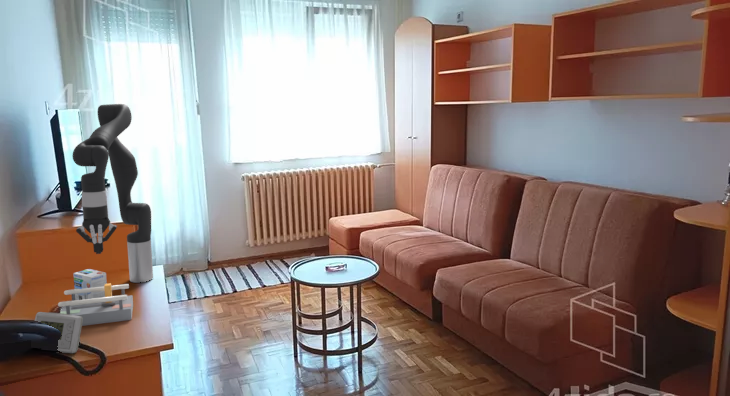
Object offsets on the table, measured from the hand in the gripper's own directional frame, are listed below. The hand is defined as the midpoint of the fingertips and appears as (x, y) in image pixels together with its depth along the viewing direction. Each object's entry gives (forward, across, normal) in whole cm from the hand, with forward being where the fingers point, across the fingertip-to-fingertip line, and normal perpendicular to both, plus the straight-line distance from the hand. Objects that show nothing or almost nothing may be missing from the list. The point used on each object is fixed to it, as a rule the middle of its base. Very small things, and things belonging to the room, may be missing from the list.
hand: (98, 253), depth 179 cm
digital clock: (+23, +10, +23) cm, 34 cm away
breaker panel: (+23, +2, 0) cm, 23 cm away
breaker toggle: (+18, -2, 0) cm, 19 cm away
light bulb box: (+23, +6, -19) cm, 30 cm away
